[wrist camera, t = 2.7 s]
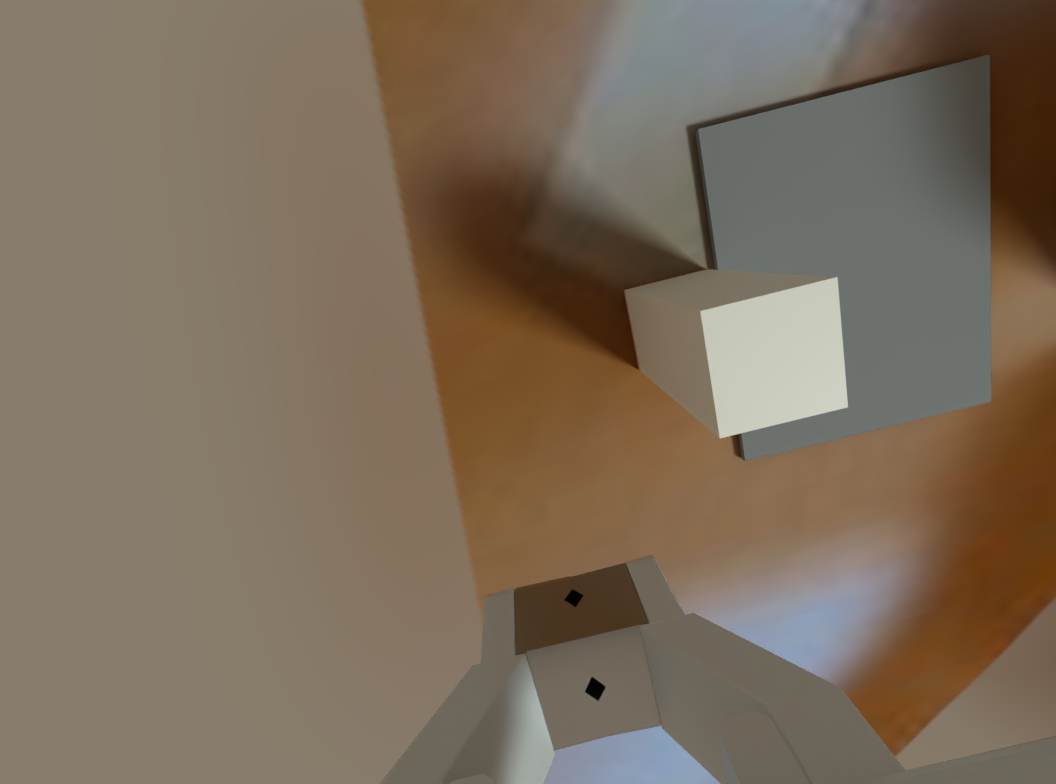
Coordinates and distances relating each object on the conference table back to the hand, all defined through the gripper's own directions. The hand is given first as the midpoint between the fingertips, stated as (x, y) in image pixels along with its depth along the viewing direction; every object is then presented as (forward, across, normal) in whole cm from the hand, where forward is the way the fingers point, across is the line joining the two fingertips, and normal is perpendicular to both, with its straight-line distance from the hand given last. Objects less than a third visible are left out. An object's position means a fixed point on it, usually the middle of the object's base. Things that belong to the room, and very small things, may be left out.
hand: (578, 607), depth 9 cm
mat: (+23, -20, 0) cm, 30 cm away
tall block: (+23, -9, 0) cm, 25 cm away
